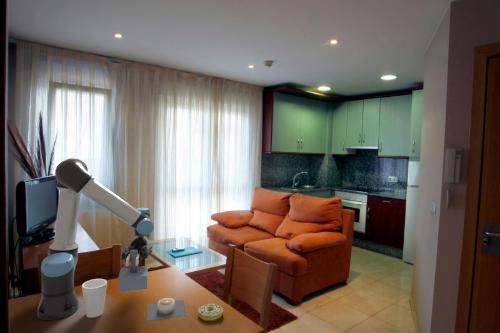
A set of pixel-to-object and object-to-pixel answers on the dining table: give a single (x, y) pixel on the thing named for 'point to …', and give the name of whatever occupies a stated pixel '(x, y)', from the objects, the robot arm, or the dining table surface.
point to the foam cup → (94, 296)
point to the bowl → (166, 305)
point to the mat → (155, 315)
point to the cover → (133, 275)
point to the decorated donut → (210, 312)
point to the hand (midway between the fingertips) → (131, 262)
